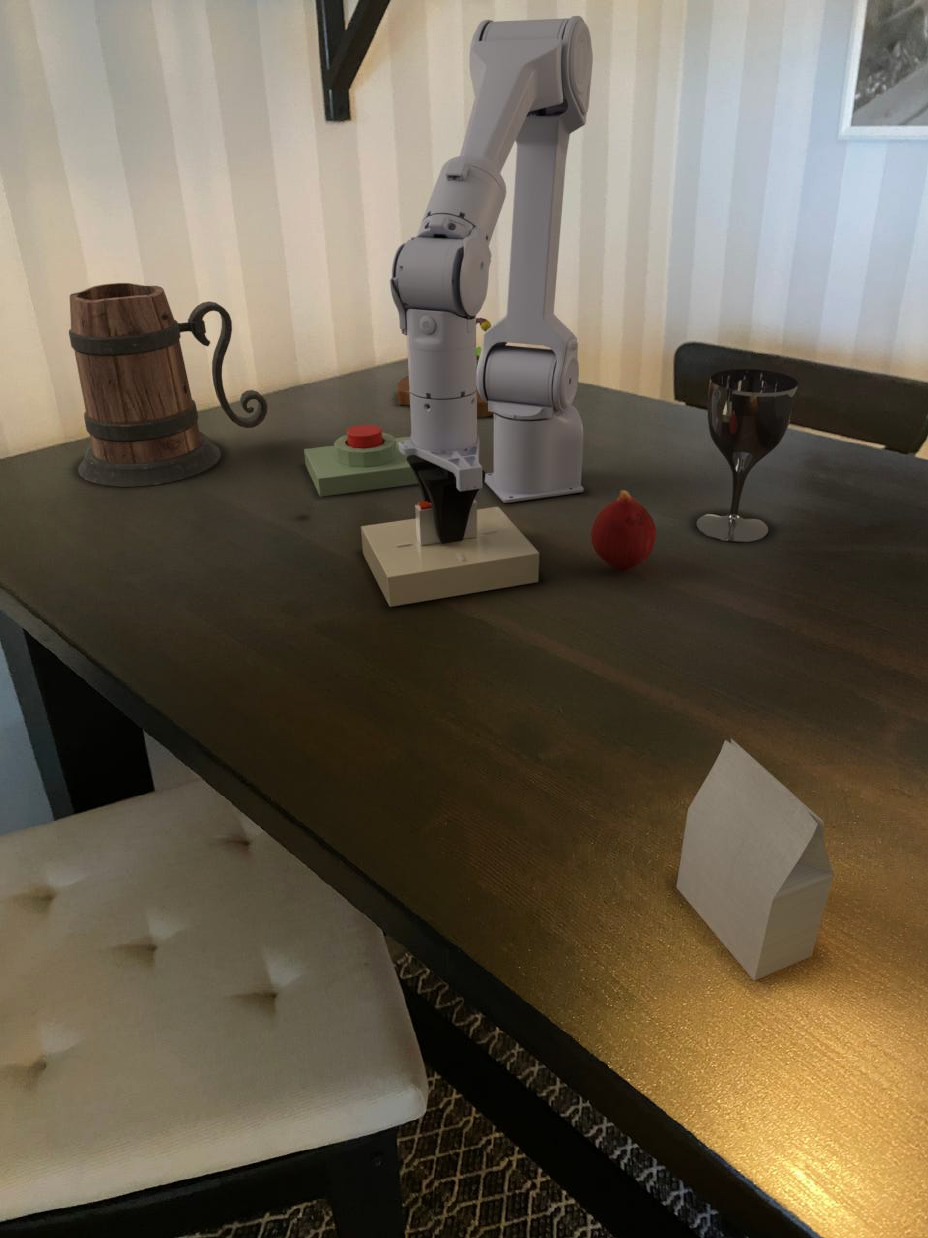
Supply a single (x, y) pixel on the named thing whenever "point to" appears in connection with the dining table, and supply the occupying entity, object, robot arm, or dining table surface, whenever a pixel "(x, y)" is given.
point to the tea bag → (755, 864)
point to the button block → (358, 467)
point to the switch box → (428, 529)
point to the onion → (623, 533)
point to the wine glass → (745, 437)
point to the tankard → (144, 386)
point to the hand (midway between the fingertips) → (447, 535)
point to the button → (364, 436)
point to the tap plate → (448, 560)
